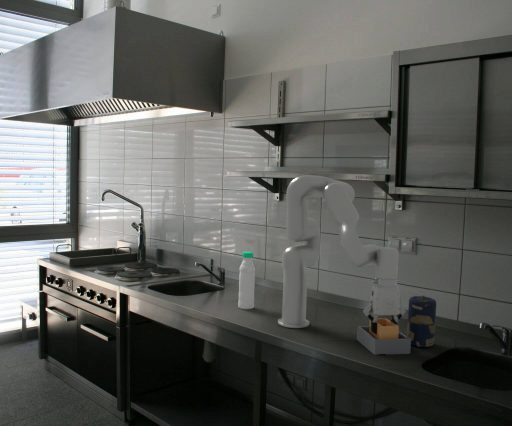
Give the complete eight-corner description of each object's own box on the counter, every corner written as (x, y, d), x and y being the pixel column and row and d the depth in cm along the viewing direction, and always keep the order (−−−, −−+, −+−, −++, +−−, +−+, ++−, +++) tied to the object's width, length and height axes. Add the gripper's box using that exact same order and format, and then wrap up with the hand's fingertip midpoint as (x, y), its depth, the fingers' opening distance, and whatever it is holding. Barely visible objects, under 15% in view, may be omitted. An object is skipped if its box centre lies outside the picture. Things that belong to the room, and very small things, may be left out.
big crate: (356, 339, 189) (357, 326, 189) (389, 338, 192) (390, 325, 191) (374, 354, 174) (375, 340, 173) (410, 353, 176) (411, 339, 176)
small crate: (369, 332, 187) (369, 318, 186) (385, 331, 188) (386, 318, 187) (380, 341, 177) (381, 326, 176) (398, 340, 178) (398, 326, 178)
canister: (438, 344, 187) (441, 296, 186) (427, 350, 180) (430, 300, 178) (413, 338, 193) (416, 291, 192) (401, 344, 186) (404, 295, 185)
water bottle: (236, 308, 227) (238, 252, 225) (240, 305, 233) (242, 250, 232) (251, 310, 225) (253, 253, 223) (255, 306, 232) (257, 251, 230)
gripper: (367, 284, 176) (364, 336, 177) (413, 284, 179) (411, 335, 180) (358, 280, 183) (356, 329, 184) (403, 280, 186) (401, 328, 188)
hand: (383, 331), depth 182 cm, fingers closed on small crate, 6 cm apart
